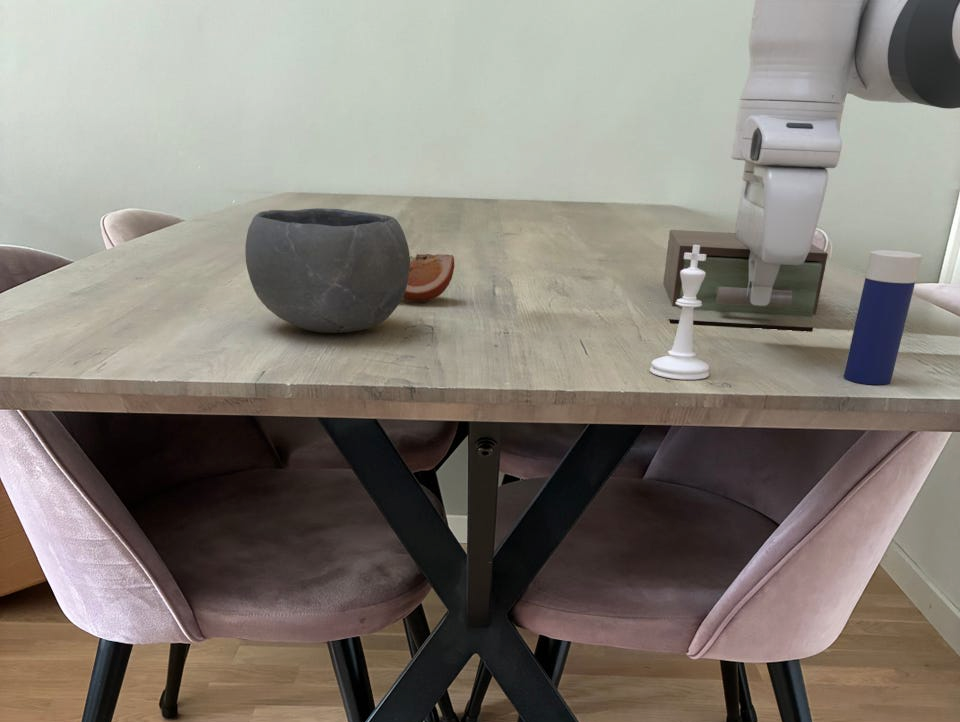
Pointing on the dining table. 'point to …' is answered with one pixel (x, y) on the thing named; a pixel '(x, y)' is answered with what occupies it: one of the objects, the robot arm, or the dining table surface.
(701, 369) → the chess piece
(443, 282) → the fruit slice
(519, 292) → the dining table surface
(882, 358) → the glue stick
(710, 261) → the drawer
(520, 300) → the dining table surface
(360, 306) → the bowl
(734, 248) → the cabinet
